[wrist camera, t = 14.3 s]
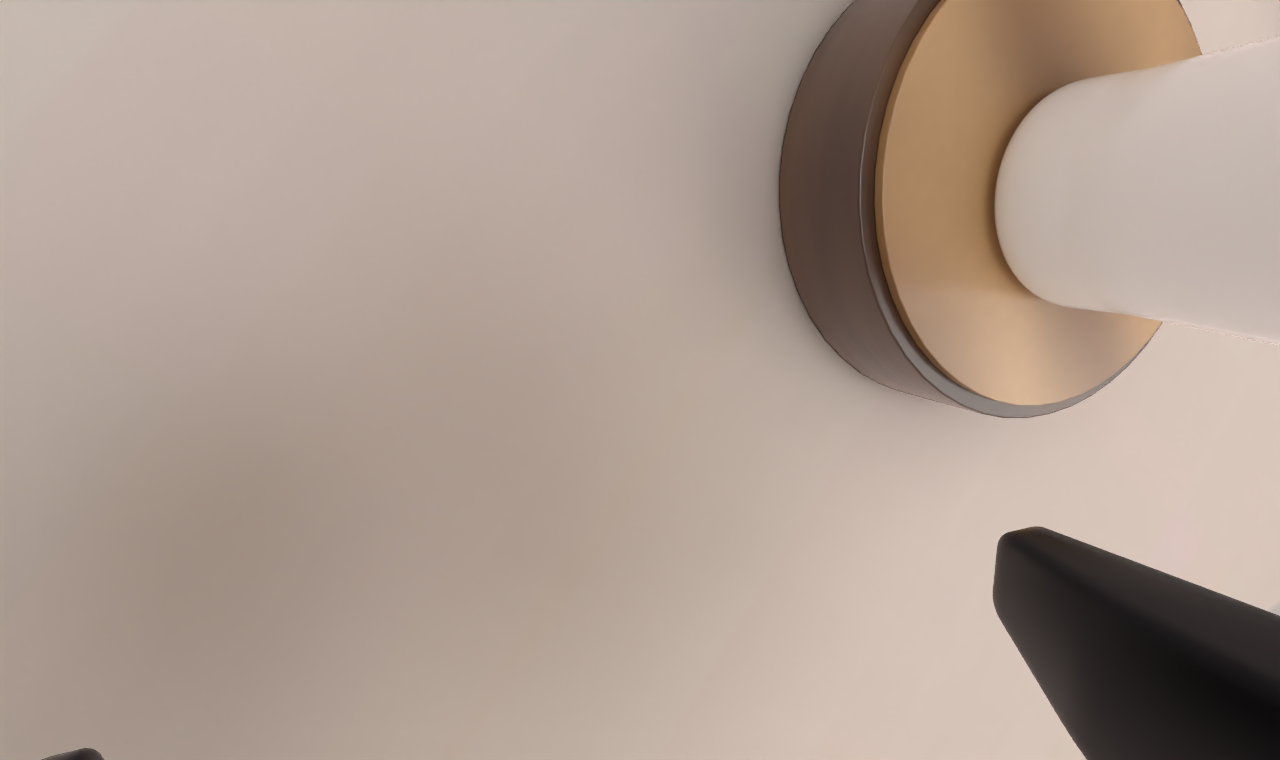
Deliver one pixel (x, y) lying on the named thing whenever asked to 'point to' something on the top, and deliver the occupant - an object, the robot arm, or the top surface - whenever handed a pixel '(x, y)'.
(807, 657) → the top surface
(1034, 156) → the white tumbler
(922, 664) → the top surface
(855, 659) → the top surface
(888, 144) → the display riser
